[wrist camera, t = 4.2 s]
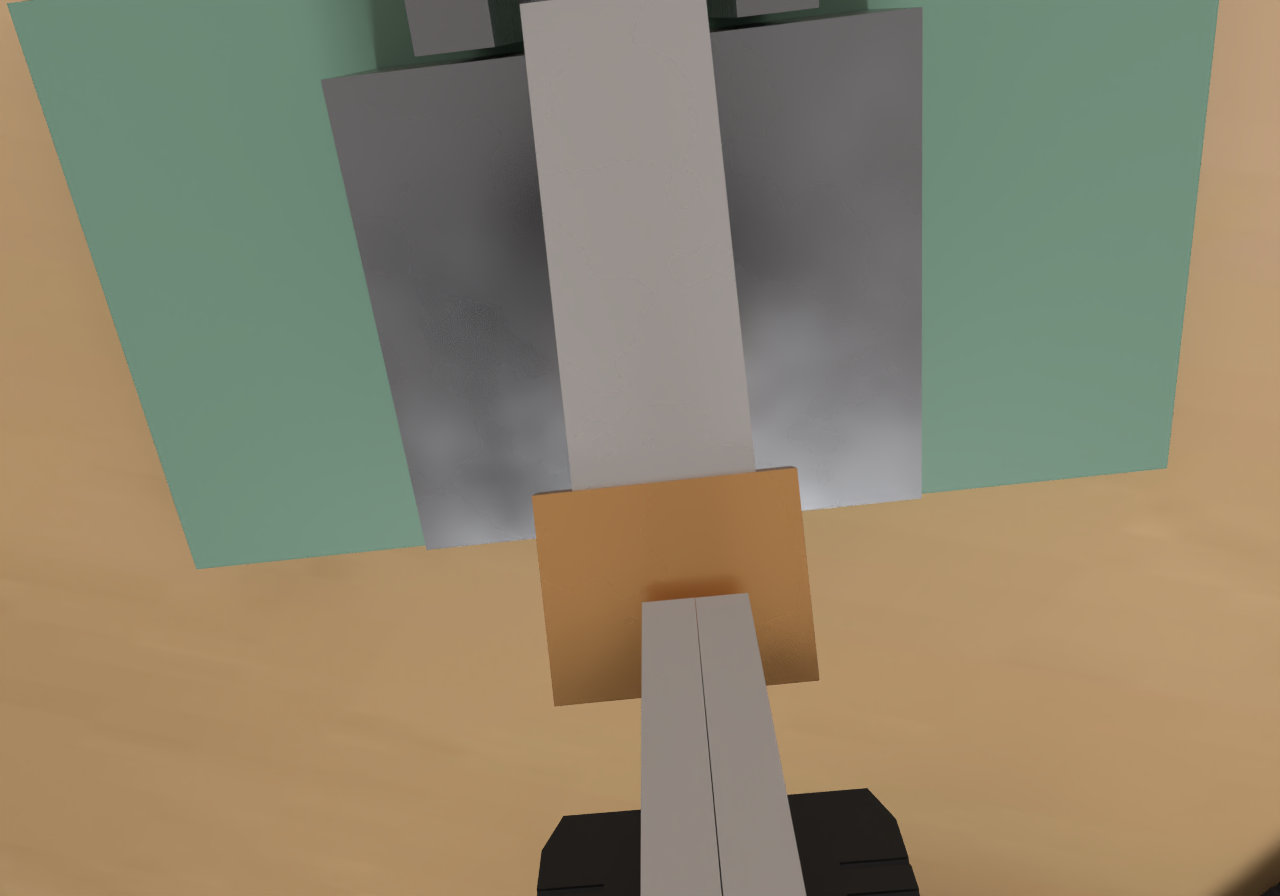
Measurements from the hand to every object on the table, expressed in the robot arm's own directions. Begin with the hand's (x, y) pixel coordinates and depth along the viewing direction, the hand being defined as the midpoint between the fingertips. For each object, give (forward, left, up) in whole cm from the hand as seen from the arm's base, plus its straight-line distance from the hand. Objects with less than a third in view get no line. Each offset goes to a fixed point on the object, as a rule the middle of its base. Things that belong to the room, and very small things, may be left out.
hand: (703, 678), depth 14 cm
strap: (0, +5, -3) cm, 6 cm away
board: (0, +4, -11) cm, 12 cm away
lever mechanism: (0, +4, -10) cm, 11 cm away
